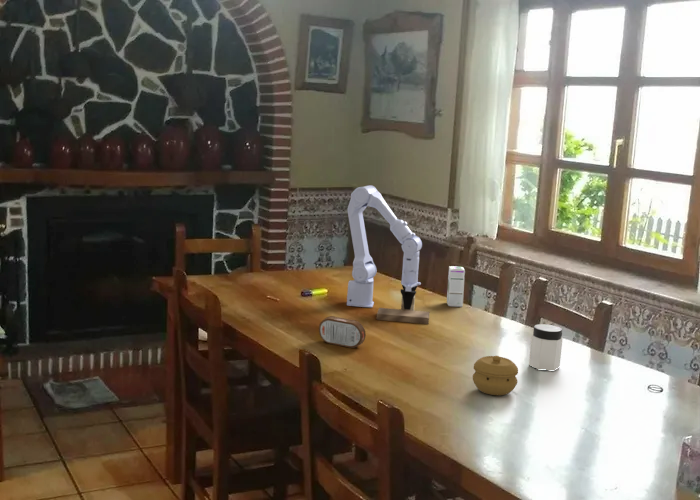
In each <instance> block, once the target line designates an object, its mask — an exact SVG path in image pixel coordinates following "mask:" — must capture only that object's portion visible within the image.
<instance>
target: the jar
mask: <svg viewBox="0 0 700 500" xmlns="http://www.w3.org/2000/svg"><path fill="white" fill-rule="evenodd" d="M530 339H531V340H530V347H529V348H530V349H529V358H528V366H529V365H531V366H533V367H535V368H537V369H546V370H555V369H556V368H558V367H559V366H560V365H561V358H562V357H561V355H562V347H563V340H564V338H563V329H562V327H559V326H557V325H554V324H553V325H552V324H548V323H547V324H543V323H540V324H539V323H538V324H535V325H534V326H533V334H532V335H531V338H530ZM559 368H560V367H559ZM537 369H536V370H537Z"/></svg>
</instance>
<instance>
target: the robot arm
mask: <svg viewBox="0 0 700 500" xmlns="http://www.w3.org/2000/svg"><path fill="white" fill-rule="evenodd" d="M367 207H371V208H373V209H376V210H377V212H378V213H380V215H381V216H382V217H383V218H384V220H385V221H387V223H389V225H390V226H389V230H390V232H391V233H392V234H393V235H394V237H395V238H396V239H397V241H398V242H399V243H400V244H401V250H402V252H403V257H402V272H401V273H402V274H401V282H400V283H401V287H402V289H400V294H401V298H402V297H403V303H404V309H408V310H410V308H411V305H412V301H413V298H414V296H415V297H416V294H417V288H418V286H421V284H422V283H421V282H420V281H419V279H418V278H419V265H420V251H421V249H422V248H423V242H422V240H421V238H420V236H417V235H416V233H415V232H413V231H412V230H411V229H410V228H409V226H408V222H407V221H405V220H403V219H398V217H397V216H396V215H395V213H394V212H393V210H392V209H391V207H390V206H389V204H388V203H387V202H386V200H385V199H384V197H383V196H382V193H380V191H378V189H377V188H376V186H374V185H372V184H371V185H369V184H367V185H365V186H359V187H356V188H355V189H354V190H353V191H352V192H351V194H350V200H349V203H348V206H347V208H346V209H347V215H348V223H349V228H350V235H351V240H352V241H351V242H352V246H353V252H354V258H353V262H352V272H351V276H352V279H353V280H349V281H348V284H347V295H346V306H350V307H360V308H361V307H362V308H373V307H374V304H375V301H373V297H374V281H375V280H374V277H376V274H377V271H378V270H377V266H376V264H375V262H374V259H373V257H372V256H371V255H370V251H369V245H368V239H367V238H368V237H367V231H366V227H365V221H364V214H363V213H364V211H365V210H366V209H367Z"/></svg>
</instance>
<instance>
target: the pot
mask: <svg viewBox="0 0 700 500" xmlns="http://www.w3.org/2000/svg"><path fill="white" fill-rule="evenodd" d="M473 369H474V371H475V372H474V373H472V381H473V383H474V385H475V387H476V388H477V390H479V391H480V392H482V393H484V394H486V395H491V396H504V395H508V394H510V393H511V392H512V391H513V390H514V389H515V388H516V386H517V385H518V379H517V377H516V376H517V375H518V374H519V369H518V366H517V364H515V362H514V361H512V360H511V359H509V358H507V357H502V356H499V355H488V356H483V357H480V358H478V359H477V360H476V361H475V362H474V364H473Z"/></svg>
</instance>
